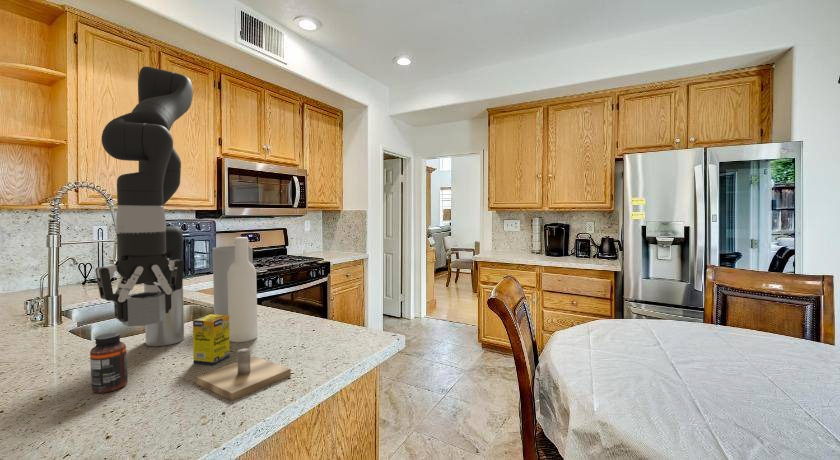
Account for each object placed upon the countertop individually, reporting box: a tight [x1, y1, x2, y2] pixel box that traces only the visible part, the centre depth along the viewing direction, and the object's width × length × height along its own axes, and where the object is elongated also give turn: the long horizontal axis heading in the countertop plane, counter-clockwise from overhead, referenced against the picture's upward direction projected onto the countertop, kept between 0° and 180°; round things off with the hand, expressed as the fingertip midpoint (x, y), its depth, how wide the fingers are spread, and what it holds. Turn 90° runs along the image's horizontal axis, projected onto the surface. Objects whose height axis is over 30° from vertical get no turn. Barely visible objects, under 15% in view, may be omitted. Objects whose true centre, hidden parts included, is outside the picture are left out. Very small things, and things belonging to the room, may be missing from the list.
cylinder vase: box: [212, 245, 254, 315], centre depth 133 cm, size 12×12×25 cm
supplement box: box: [192, 313, 231, 366], centre depth 95 cm, size 6×6×11 cm
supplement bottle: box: [89, 332, 129, 394], centre depth 80 cm, size 6×6×11 cm
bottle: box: [227, 236, 259, 343], centre depth 111 cm, size 8×8×30 cm
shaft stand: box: [195, 348, 292, 401], centre depth 84 cm, size 14×14×6 cm
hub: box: [121, 291, 166, 327], centre depth 72 cm, size 6×6×5 cm
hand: (144, 316), depth 72 cm, fingers closed on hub, 6 cm apart
